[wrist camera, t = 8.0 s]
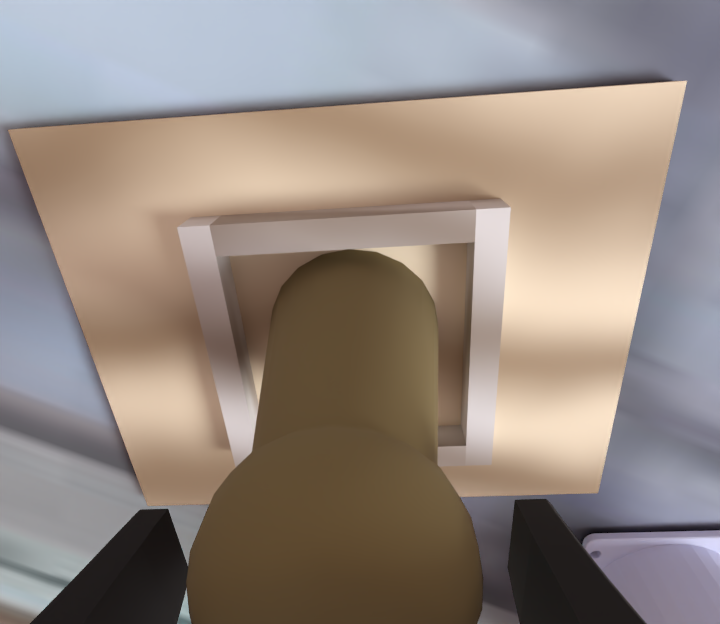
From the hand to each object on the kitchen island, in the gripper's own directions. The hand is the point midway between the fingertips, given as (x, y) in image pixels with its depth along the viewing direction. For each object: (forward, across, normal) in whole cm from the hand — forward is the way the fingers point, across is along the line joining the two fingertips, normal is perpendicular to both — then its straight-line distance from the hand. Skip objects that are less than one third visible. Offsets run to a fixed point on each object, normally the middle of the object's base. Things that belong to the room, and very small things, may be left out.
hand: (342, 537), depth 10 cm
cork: (+8, 0, -1) cm, 8 cm away
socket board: (+9, 0, 0) cm, 9 cm away
